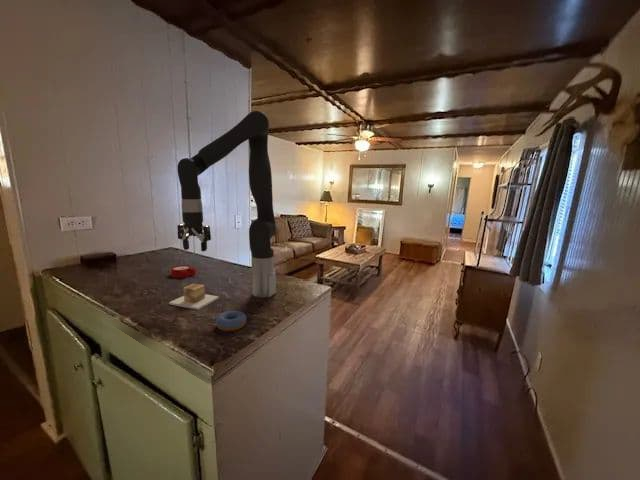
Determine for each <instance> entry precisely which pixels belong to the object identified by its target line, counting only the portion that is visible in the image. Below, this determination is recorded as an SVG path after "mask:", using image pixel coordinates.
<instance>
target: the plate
mask: <svg viewBox="0 0 640 480" xmlns="http://www.w3.org/2000/svg"><path fill="white" fill-rule="evenodd" d="M219 298H220V297H219V296H218V295H212V294H206V293H205V298H204V299H202V300H200V301H198V302H196V303H193V302H188V301H184V295H182V296H179V297H178V298H176V299H173V300H171V301H169V303H168V304H169V305H172V306H175V307H182V308H187V309H192V310H197V311H198V310H200V309H203V308H204V307H205V306H207V305H210V304H211V303H213V302H215V301H216V300H219Z"/></svg>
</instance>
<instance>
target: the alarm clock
mask: <svg viewBox="0 0 640 480" xmlns="http://www.w3.org/2000/svg"><path fill="white" fill-rule="evenodd" d="M167 271H170V272H171V273H170V275H169V276H170V277H171V278H180V279H185V278H187V277H189V276H195V275H196V273H197V269H196V267H191V266H190V265H187V264H181V265H175V266H172V267H171V268H170V269H169V268H167Z"/></svg>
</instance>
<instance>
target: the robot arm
mask: <svg viewBox="0 0 640 480" xmlns="http://www.w3.org/2000/svg"><path fill="white" fill-rule="evenodd" d="M269 129H270V121H269V118H268V117H267V114H265V113H264V112H262V111H260V110H252V111H250V112H249V113H248V114H246V116H244V117H243V119H242V120H240V121H239V123H237V124H236V125H235V126H233V127H232V128H231V129H230V130H228V131H227V132H226V133H224V134H222V135H221V136H219V137H218V138H215V139H214V140H212V141H211V142H210V143H208V144H206V145H204V146H203V147H202V148H201V149H199V151H198V153H197V154H195V155H194V156H192V157H191V158H189V157H185V158H182V159H180V160H179V161H178V164H177V168H176V169H177V171H176V172H177V177H178V180H179V185H180V193H181V215H182V216H181V217H182V223H183V224H182V223H180V224H177V239H178V240H181V241H182V248H183V249H184V251H188V250H189V249H190V243H189V241H190V240H189V239H190V237H191V236H193V237H196V238H197V239H199V241H200V250H201V252H206V251H207V249H208V241H211V240H212V235H211V227H210V225H203V222H204V214H203V213H204V212H203V201H202V192H201V191H202V190H201V186H200V185H199V179H198V176H200V175H201V174H203V173H204V172H205V171H207V170H208V169H209V168H210V167H211V166H213V165H215V164H217V163H219V162H220V161H221V160H222V159H224V158H226V157H227V156H228V155H229V154H231V153H232V152H233V151H234V150H235V149H236V148H238V147H239V146H240V145H241V144H243V143H245V142H246V141H248V145H249V158H248V159H249V160H248V183H249V189H250V190H249V191H250V192H251V195H252V198H253V200H254V204H255V206H256V214H257V215H256V216H257V218H256V220H254V221H252V222H251V223H250V226H249V229H248V241H249V249H250V252H251V275H252V276H251V277H252V296H253V297H255V298H263V299H265V298H271V297H272V296H274V295H275V294H276V293H277V289H276V288H277V287H276V286H277V281H276V280H277V277H276V276H277V273H276V272H275V264H274V263H275V262H274V261H275V259H274V257H275V256H274V255H275V253H274V251H275V250H274V249H273V248H272V246H271V239H272V238H273V237H274V236H275V234H276V231H277V226H276V219H275V213H274V205H273V203H274V202H273V199H274V198H273V177H272V167H271V160H270V157H269V151H268V146H269V145H268V143H269V142H268V139H269V131H270V130H269Z"/></svg>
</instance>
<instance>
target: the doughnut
mask: <svg viewBox="0 0 640 480" xmlns="http://www.w3.org/2000/svg"><path fill="white" fill-rule="evenodd" d="M246 324H247V315H246V314H245V313H244V312H242V311H239V310H227V311H224V312H221V313H220V314H219V315H218V316H217V317H216V319H215V325H216V327H217V329H219V330H220V331H222V332H234V331H238V330H240V329H242V328H243V327H245V325H246Z"/></svg>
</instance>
